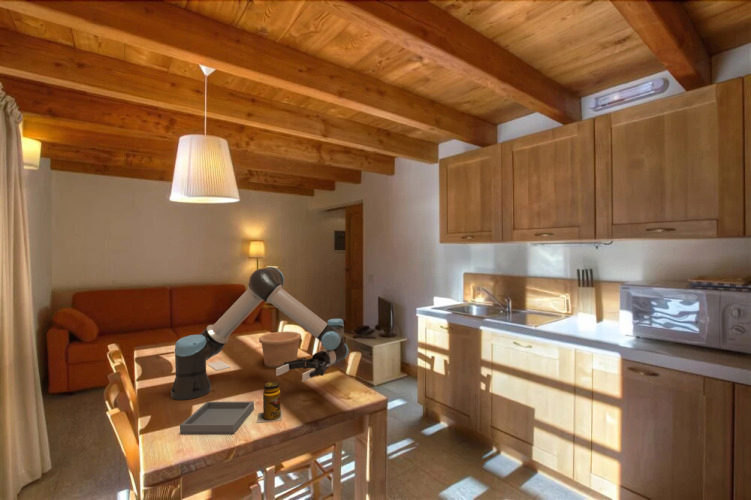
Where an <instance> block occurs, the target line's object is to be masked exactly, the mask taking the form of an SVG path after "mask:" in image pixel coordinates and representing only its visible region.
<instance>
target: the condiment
mask: <svg viewBox="0 0 751 500" xmlns="http://www.w3.org/2000/svg"><path fill="white" fill-rule="evenodd" d="M263 387H264V389H263V393H262V399H263V401H262V405H263V407H262V412H258V413H257V419H256V421H255V422H256V424H257V423H265V422H267V423H268V422H276V421H281V420H282V415H283V414H282V413H283V410H281V390H280V383H279V382H277V381H269V382H267V383H265V384H264V385H263Z"/></svg>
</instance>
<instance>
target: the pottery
mask: <svg viewBox="0 0 751 500" xmlns="http://www.w3.org/2000/svg"><path fill="white" fill-rule="evenodd" d="M301 339H302V335H301V332H300V333H299V332H297V331H295V332H294V331H276V332H275V331H274V332H269V333H265V334H263V335H260V336H259V337H258V342H259V343H261V349H262V354H263V360H264V366H265V367H267V368H271V369H272V368H273V369H277V368H279V367H281V366H284V362H289V361H293V360H298V352H299V344H300V340H301Z"/></svg>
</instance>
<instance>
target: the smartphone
mask: <svg viewBox="0 0 751 500" xmlns="http://www.w3.org/2000/svg"><path fill="white" fill-rule="evenodd" d="M206 366H209V367H210V368H212V369H213V370H214V371H217V372H218V371H222V370H226V369H230V368H231V366H230V365H229V364H227V363H226V362H224V361H222V360H216V361H213V362H207V363H206Z"/></svg>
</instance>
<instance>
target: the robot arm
mask: <svg viewBox="0 0 751 500" xmlns="http://www.w3.org/2000/svg"><path fill="white" fill-rule="evenodd" d="M284 283H285V277H284V274H283V272H282V271H281V270H280V269H278V268H277V267H273V266H269V267H268V266H267V267H264V268H259V269H256V270H254V271H253V272H252V274H251V275H250V276H249V280H248V284H247V289H246V290H245V292H243V293H242V294H241V295H240V297H238V299H237V300H236V301H234V303H233V304H232V305H231V306H230V307H229V308H228V309H227V310H226V311H225V312H224V313H223V315H222V316H220V317H219V318H218V320H217V321H216V322H215V323H213V324H209V325H207V326H206V327H205V328H204V329H203V330H202V332H201V333H200V334H191V335H187V336H184V337H181V338H179V339H178V340H177V341H176V342H175V344H174V345H175V346H174V347H175V348H174V362H175V364H174V365H175V366H174V367H175V377H174V381H173V384H172V387H171V390H170V396H171V398H172V399H174V400H179V401H180V400H181V401H183V400H192V399H197V398H200V397H202V396H205V395H208V393H210V392H211V391H212V384H211V381H210V379H209V375H208V373H207V361H208V360H210V359H211V358H213V357H215V356H217V355H218V354H219V353H220V352H221V351H222V350H223V349H224V347H225V345H226V344H227V343H228V341H229V337H230V335H231V334H232V333H233V332H234V331H235V330H236V329H237V328H238V327H239V326H240V325H241V324H242V323H243V321H245V320H246V318H247V317H249V315H250V314H251V313H252V312H253V311H254V310H255V309H256V308H257V307H258V306H259V305H260V304H261V303H262V302H263V301H264V302H265V303H266V304H272V305H273V306H274V307H275V308H277V309H278V310H279V311H281V312H282V313H283V314H284V315H286V316H288V317H289V318H290V319H291V320H292V321H294V322H295V323H297V324H298V326H300V327H302V328H303V329H304V330H305V331H306V332H308V333H309V334H311V335H312V336H313V337H314V338H316V339H317V340H318V341H319V342H320V343H321V345H322V347H323V348H324V349H321V350H320V351H317V352H315V353H314V354H312V356H311V357H310V358H308V359H307V358H306V357H302V358H300V359H298V358H297V360H293V361H289V362H284V366H281V367H279V368H275V375H276V377H278V376H281V375H283V374H285V373H287V372H289V371H290V370H295V369H309V370H308V371H306V372H303V373H302V374H301V376H302V378H301V379H302V382H306V381H307V380H309V379H311V378H313V377H315V376H317V377H318V376H321V377H323V376H325V375H324V374H325V373H326V371H327V370H328V369H329V368H330V366H332V365H334V364H337V363H338V362H342V361H343V360H344V359H346V358H347V357H348V355H349V352H350V349H349V347H348V344H346V343H345V324H344V320H343V319H342V318H331V319H328V320H327V322H326V321H324V319H322V318H321V317H320V316H318V315H317V314H316V313H314V312H313V311H312V310H311V309H309V308H308V307H307V306H305V305H304V304H303V303H301V302H300V301H299V300H297V299H296V298H295V297H293V296H292V295H291V293H290V294H289V293H288V292H287V291H286V290H285V289H284V288H283V286H284Z"/></svg>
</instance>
